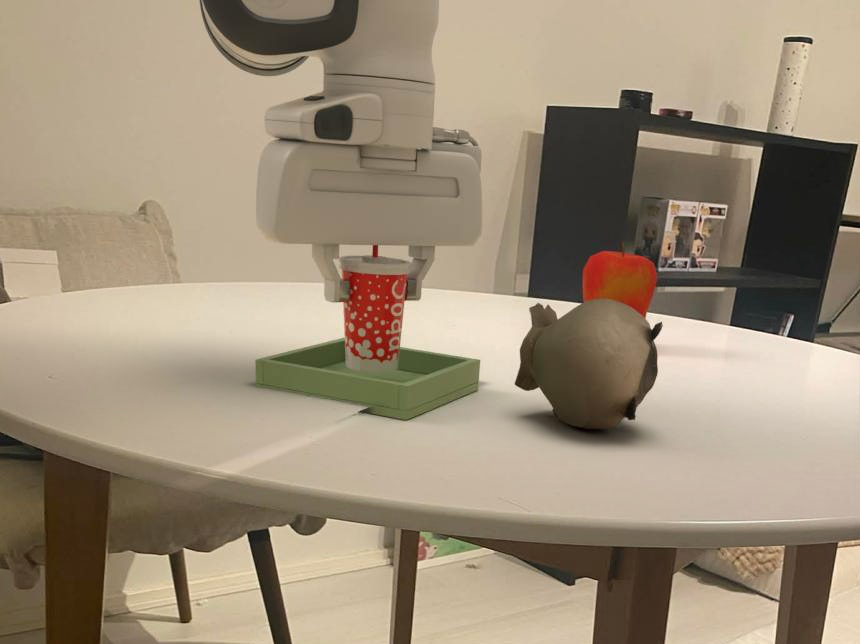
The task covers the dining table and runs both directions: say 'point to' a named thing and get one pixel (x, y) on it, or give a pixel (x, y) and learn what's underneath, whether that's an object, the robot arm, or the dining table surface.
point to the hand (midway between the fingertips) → (373, 300)
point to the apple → (620, 279)
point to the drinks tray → (372, 379)
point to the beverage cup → (374, 310)
